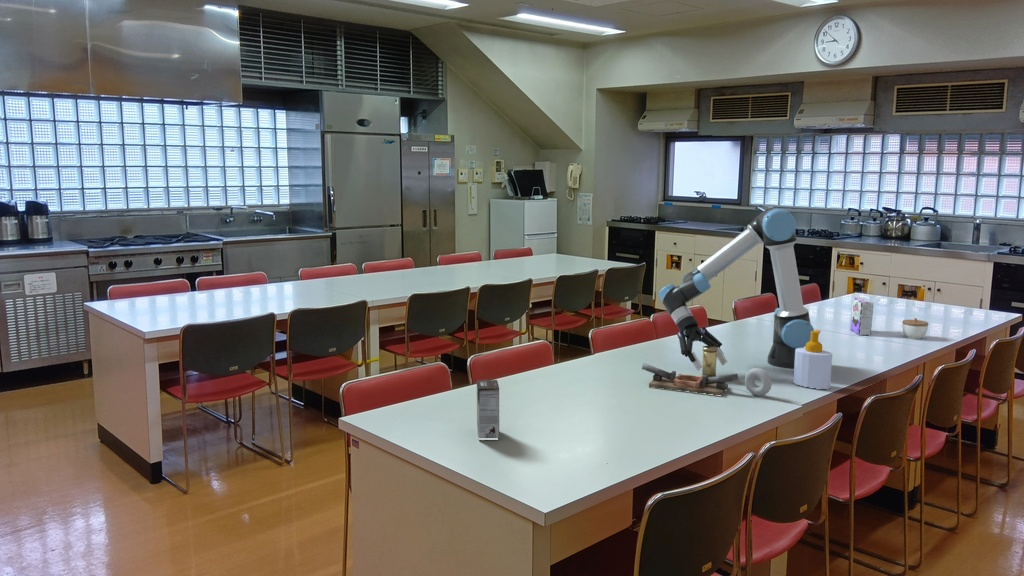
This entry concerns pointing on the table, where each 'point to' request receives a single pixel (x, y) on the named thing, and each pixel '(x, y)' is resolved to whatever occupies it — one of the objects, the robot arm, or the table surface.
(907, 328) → the lidded jar
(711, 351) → the cylinder
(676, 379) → the shaft stand
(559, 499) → the table surface
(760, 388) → the donut
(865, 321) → the candy box
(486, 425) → the coffee box
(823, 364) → the soap bottle
